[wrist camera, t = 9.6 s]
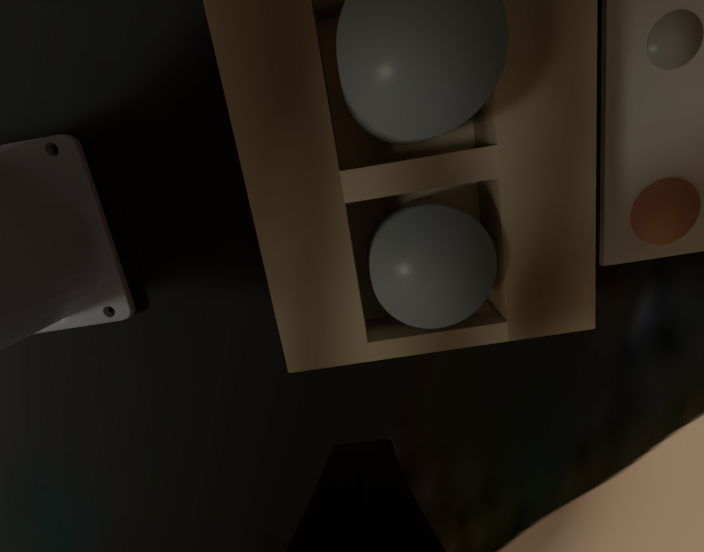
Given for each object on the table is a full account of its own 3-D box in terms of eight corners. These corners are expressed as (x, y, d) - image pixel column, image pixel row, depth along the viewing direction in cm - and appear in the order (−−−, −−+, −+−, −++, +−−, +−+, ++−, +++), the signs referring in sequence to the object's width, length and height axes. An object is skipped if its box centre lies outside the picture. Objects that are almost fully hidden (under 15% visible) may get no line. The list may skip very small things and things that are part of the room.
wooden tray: (298, 340, 18) (288, 372, 15) (182, -198, 13) (132, -307, 10) (554, 302, 17) (594, 328, 15) (541, -276, 12) (600, -416, 9)
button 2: (351, 154, 13) (351, 149, 10) (329, 12, 12) (322, -39, 9) (477, 133, 13) (512, 121, 10) (466, -14, 12) (503, -74, 9)
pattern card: (599, 264, 17) (605, 266, 17) (603, -229, 13) (612, -242, 12) (714, 247, 17) (722, 248, 16) (760, -262, 12) (774, -276, 12)
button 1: (375, 308, 17) (379, 336, 14) (359, 209, 16) (361, 217, 13) (474, 293, 17) (500, 319, 14) (466, 191, 15) (492, 196, 13)
